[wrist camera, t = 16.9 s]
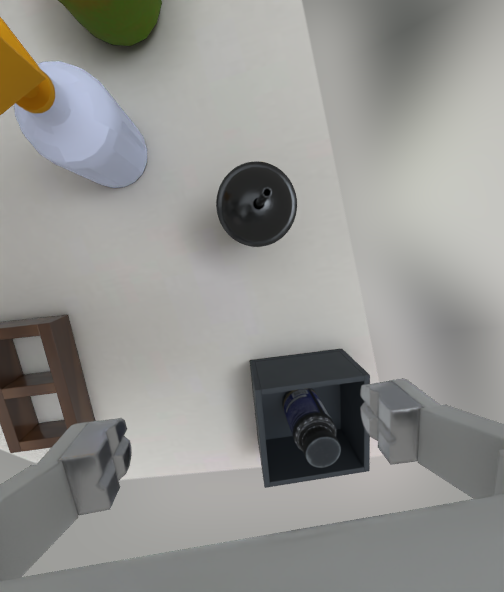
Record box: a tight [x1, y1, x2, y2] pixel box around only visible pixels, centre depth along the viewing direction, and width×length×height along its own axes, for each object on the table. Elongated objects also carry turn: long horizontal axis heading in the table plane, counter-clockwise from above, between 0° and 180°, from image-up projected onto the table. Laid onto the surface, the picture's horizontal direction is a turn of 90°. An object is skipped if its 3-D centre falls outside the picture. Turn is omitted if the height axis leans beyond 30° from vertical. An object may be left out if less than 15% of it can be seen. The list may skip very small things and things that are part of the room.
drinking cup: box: [216, 162, 297, 247], centre depth 28 cm, size 8×8×20 cm
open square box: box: [250, 349, 370, 488], centre depth 40 cm, size 16×16×9 cm
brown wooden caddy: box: [0, 315, 95, 453], centre depth 38 cm, size 10×19×4 cm, turn 5°
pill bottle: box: [283, 388, 341, 468], centre depth 38 cm, size 6×6×11 cm
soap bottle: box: [0, 17, 147, 188], centre depth 22 cm, size 9×9×25 cm
